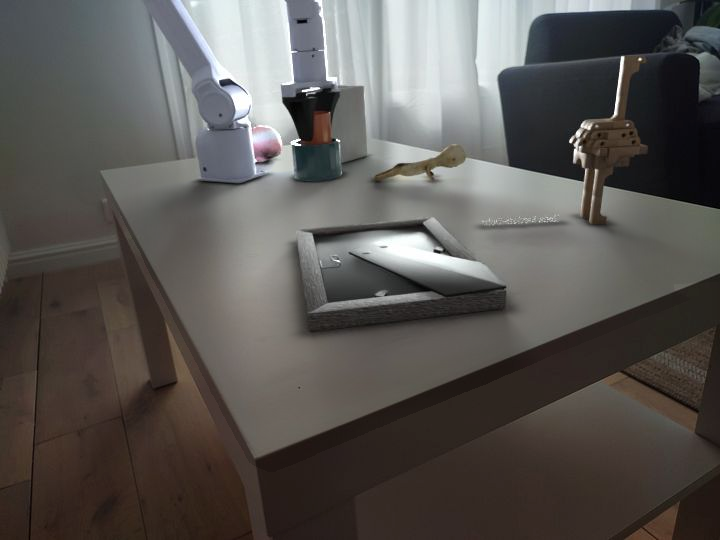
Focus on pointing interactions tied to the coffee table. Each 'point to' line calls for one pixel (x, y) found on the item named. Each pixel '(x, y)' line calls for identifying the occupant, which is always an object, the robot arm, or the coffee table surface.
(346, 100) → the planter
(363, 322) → the picture frame
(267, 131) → the onion
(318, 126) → the cup
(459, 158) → the figurine
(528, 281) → the coffee table surface
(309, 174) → the base cup
